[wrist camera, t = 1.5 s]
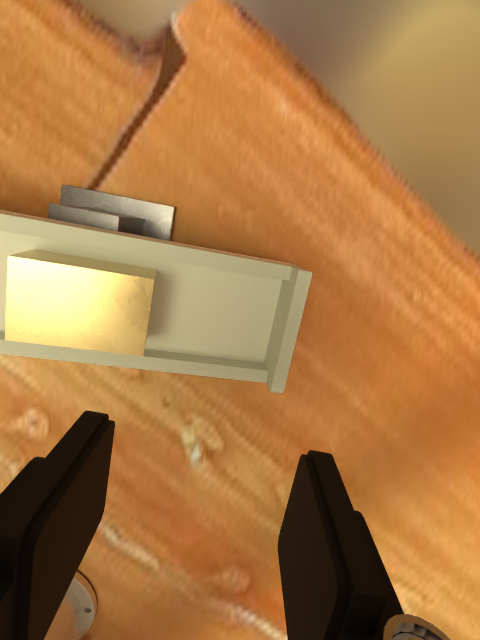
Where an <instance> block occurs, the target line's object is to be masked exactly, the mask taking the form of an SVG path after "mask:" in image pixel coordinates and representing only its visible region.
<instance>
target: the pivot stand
mask: <svg viewBox="0 0 480 640" xmlns="http://www.w3.org/2000/svg"><path fill="white" fill-rule="evenodd" d="M175 210H176V207H171V206H166V205H161V204H156V203H151V202H146V201H142V200H137V199H132V198H127V197H122V196H117V195H112V194H107V193H102V192H97V191H92V190H87V189H82V188H77V187H72V186H67V185H62V188H61V202H60V204H55V203H49V216H48V219H53V220H59V221H64V222H69V223H75V224H80V225H86V226H91V227H96V228H102V229H107V230H113V231H118V232H124V233H129V234H134V235H140V236H145V237H151V238H156V239H161V240H167V241H171V237H172V230H173V223H174V217H175Z"/></svg>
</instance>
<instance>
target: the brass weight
mask: <svg viewBox="0 0 480 640" xmlns="http://www.w3.org/2000/svg"><path fill="white" fill-rule="evenodd" d="M156 273H157V270H156V269H150V268H144V267H139V266H133V265H127V264H121V263H115V262H109V261H103V260H97V259H91V258H85V257H79V256H73V255H67V254H61V253H55V252H49V251H43V250H37V249H32V250H28V251H24V252H20V253H17V254H13V255H9V256H8V272H7V296H6V320H5V340H8V341H17V342H25V343H34V344H42V345H51V346H60V347H68V348H77V349H85V350H94V351H102V352H111V353H119V354H128V355H137V356H144V352H145V347H146V342H147V337H148V330H149V323H150V316H151V309H152V302H153V295H154V287H155V280H156Z"/></svg>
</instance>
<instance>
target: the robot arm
mask: <svg viewBox="0 0 480 640" xmlns="http://www.w3.org/2000/svg"><path fill="white" fill-rule="evenodd" d="M114 428H115V422H114V421H111V420H109V416H108V414H104V413H98V412H93V411H85V412H84V413H83V414H82V415H81V416H80V417H79V419H78V420H77V421H76V422H75V423H74V425H73V426H72V427H71V428H70V429H69V431H68V432H67V433H66V434H65V435H64V436H63V438H62V439H61V440H60V441H59V442H58V444H57V445H56V446H55V447H54V448H53V449H52V451H51V452H50V453H49V454H48V455H47V457H46V458H43V457H35V458H33V459H32V460H31V461H30V462H29V463H28V464H27V465H26V466H25V467H24V469H23V470H22V471H21V472H20V473H19V474H18V475H17V476H16V477H15V479H14V480H13V481H12V482H11V483H10V484H9V485H8V486H7V487H6V489H5V490H4V491H3V492H2V493H1V494H0V640H80V638H81V637H82V636H84V635H85V634H86V633H87V632H88V630H89V629H90V627H91V625H92V623H93V620H94V618H95V615H96V611H97V600H96V596H95V593H94V591H93V589H92V587H91V585H90V584H89V583H88V581H87V580H86V579H85V578H84V577H83V576H82V575H81V574H80V573H78V572H77V569H78V567H79V565H80V563H81V561H82V559H83V557H84V555H85V553H86V551H87V548H88V546H89V544H90V542H91V540H92V538H93V536H94V534H95V532H96V530H97V527H98V525H99V523H100V521H101V518H102V515H103V512H104V507H105V500H106V492H107V484H108V476H109V468H110V460H111V452H112V444H113V436H114ZM278 556H279V565H280V573H281V582H282V591H283V600H284V609H285V618H286V627H287V636H288V640H450V639H449V638H448V636H447V635H446V634H444V633H443V632H442V631H441V630H439V629H438V628H437V627H435V626H434V625H433V624H431V623H429V622H427V621H425V620H424V619H422V618H420V617H416V616H413V615H409V614H404V612H403V610H402V608H401V605H400V603H399V600H398V598H397V596H396V593H395V591H394V588H393V586H392V584H391V581H390V579H389V577H388V574H387V572H386V569H385V567H384V565H383V562H382V560H381V557H380V555H379V553H378V550H377V548H376V545H375V543H374V541H373V538H372V536H371V534H370V531H369V529H368V526H367V524H366V522H365V519H364V517H363V516H362V514H361V513H360V512H359V511H354V509H353V506H352V504H351V501H350V499H349V496H348V494H347V491H346V489H345V486H344V484H343V481H342V479H341V476H340V474H339V471H338V468H337V466H336V463H335V461H334V458H333V456H332V454H330V453H325V452H319V451H313V450H310V451H309V452H308V454H307V455H304V454H302V455H301V457H300V459H299V463H298V467H297V471H296V474H295V478H294V482H293V485H292V489H291V493H290V497H289V500H288V504H287V508H286V512H285V515H284V519H283V523H282V526H281V530H280V534H279V539H278Z"/></svg>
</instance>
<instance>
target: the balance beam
mask: <svg viewBox="0 0 480 640" xmlns="http://www.w3.org/2000/svg"><path fill="white" fill-rule="evenodd" d="M32 249H37V250H43V251H49V252H55V253H61V254H67V255H73V256H79V257H85V258H91V259H97V260H103V261H109V262H115V263H121V264H127V265H133V266H139V267H144V268H150V269H156V270H157V273H156V280H155V287H154V295H153V302H152V309H151V316H150V323H149V330H148V337H147V342H146V347H145V352H144V356H137V355H128V354H119V353H111V352H102V351H94V350H85V349H77V348H68V347H60V346H51V345H42V344H34V343H25V342H17V341H8V340H5V320H6V296H7V272H8V256H9V255H13V254H17V253H20V252H24V251H28V250H32ZM312 274H313V272H310V271H308V270H306V269H303V268H301V267H299V266H297V265H294V264H291V263H286V262H281V261H275V260H270V259H264V258H259V257H253V256H248V255H243V254H237V253H232V252H226V251H221V250H216V249H210V248H205V247H199V246H194V245H188V244H183V243H178V242H172V241H167V240H161V239H156V238H151V237H145V236H140V235H134V234H129V233H124V232H118V231H113V230H107V229H102V228H96V227H91V226H86V225H80V224H75V223H69V222H64V221H59V220H53V219H48V218H42V217H37V216H32V215H26V214H21V213H15V212H10V211H4V210H0V354H6V355H16V356H25V357H34V358H43V359H52V360H61V361H70V362H79V363H89V364H98V365H107V366H116V367H125V368H134V369H143V370H152V371H162V372H171V373H180V374H189V375H198V376H207V377H216V378H225V379H235V380H244V381H253V382H262V383H266V385H267V387H268V388H269V390H270V392H276V393H284V389H285V384H286V380H287V376H288V372H289V368H290V364H291V360H292V356H293V352H294V348H295V343H296V339H297V335H298V331H299V327H300V323H301V319H302V315H303V311H304V307H305V302H306V298H307V294H308V290H309V286H310V282H311V278H312Z"/></svg>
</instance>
